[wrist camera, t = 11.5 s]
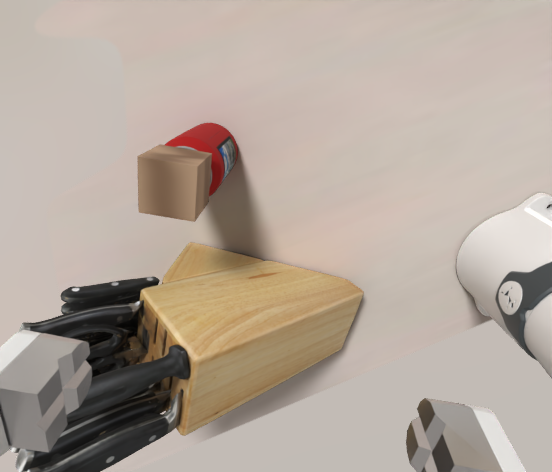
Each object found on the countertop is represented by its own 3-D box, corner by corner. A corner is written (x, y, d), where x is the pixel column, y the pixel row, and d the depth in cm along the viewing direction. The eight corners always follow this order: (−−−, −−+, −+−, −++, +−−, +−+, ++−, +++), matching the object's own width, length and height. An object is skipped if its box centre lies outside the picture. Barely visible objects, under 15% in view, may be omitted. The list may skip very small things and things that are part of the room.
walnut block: (211, 153, 34) (197, 166, 29) (208, 202, 36) (194, 221, 32) (159, 144, 34) (137, 156, 29) (159, 194, 36) (138, 212, 32)
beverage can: (222, 184, 48) (198, 219, 37) (178, 155, 46) (139, 182, 36) (249, 142, 45) (231, 165, 34) (202, 110, 44) (168, 124, 33)
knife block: (125, 221, 51) (-90, 406, 23) (362, 279, 52) (426, 521, 24) (122, 285, 56) (-60, 501, 28) (338, 336, 57) (369, 593, 29)
